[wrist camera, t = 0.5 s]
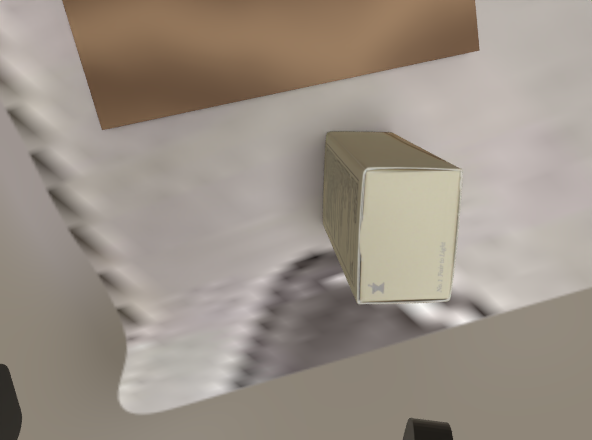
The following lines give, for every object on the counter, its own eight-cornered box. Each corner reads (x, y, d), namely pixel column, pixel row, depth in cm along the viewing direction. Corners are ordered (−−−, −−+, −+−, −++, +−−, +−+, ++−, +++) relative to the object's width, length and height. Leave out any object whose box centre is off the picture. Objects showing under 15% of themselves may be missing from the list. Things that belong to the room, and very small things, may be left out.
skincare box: (386, 224, 36) (453, 308, 24) (318, 225, 36) (354, 310, 24) (393, 127, 34) (469, 167, 23) (322, 127, 34) (362, 168, 22)
